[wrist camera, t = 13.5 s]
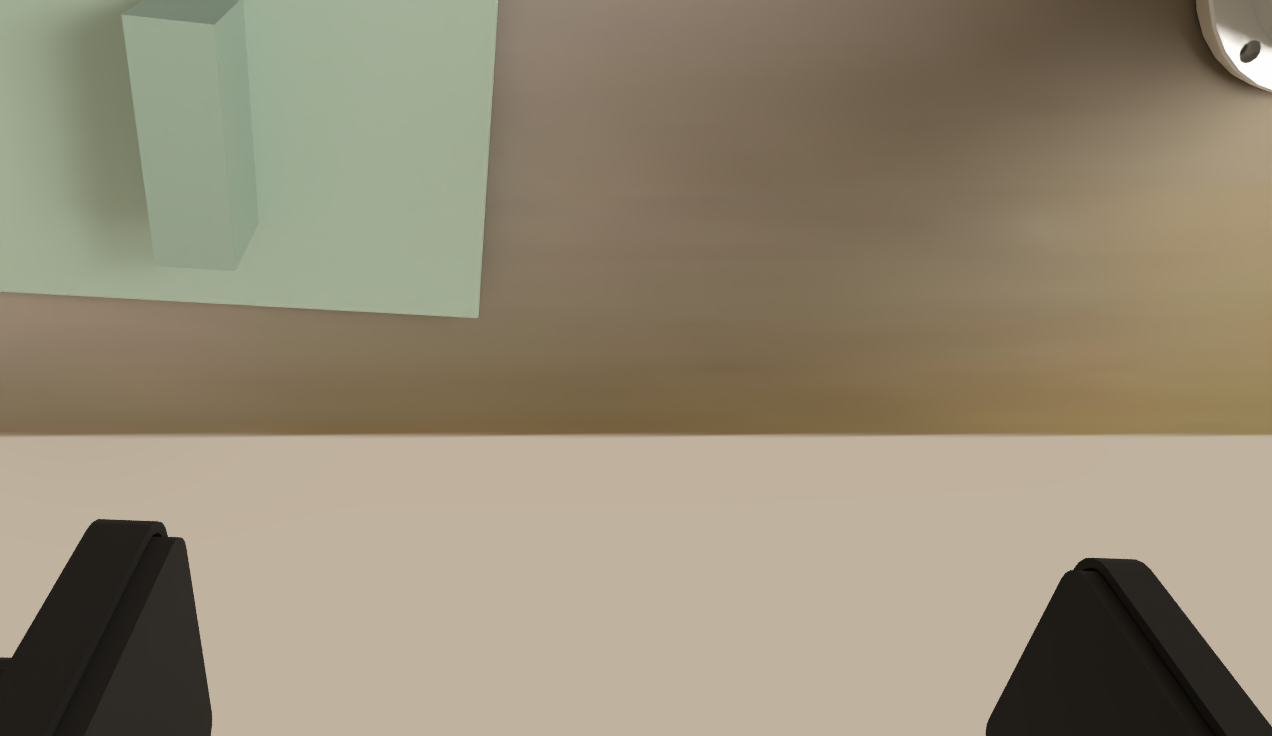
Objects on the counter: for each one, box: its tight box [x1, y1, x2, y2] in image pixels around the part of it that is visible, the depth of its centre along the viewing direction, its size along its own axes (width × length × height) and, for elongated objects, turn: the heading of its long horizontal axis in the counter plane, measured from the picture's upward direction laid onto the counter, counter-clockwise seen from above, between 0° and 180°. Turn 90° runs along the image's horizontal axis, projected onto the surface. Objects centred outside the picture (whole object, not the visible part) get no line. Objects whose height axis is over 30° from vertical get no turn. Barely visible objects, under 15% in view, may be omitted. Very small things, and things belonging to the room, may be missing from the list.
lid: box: [0, 0, 498, 318], centre depth 32 cm, size 19×15×6 cm
